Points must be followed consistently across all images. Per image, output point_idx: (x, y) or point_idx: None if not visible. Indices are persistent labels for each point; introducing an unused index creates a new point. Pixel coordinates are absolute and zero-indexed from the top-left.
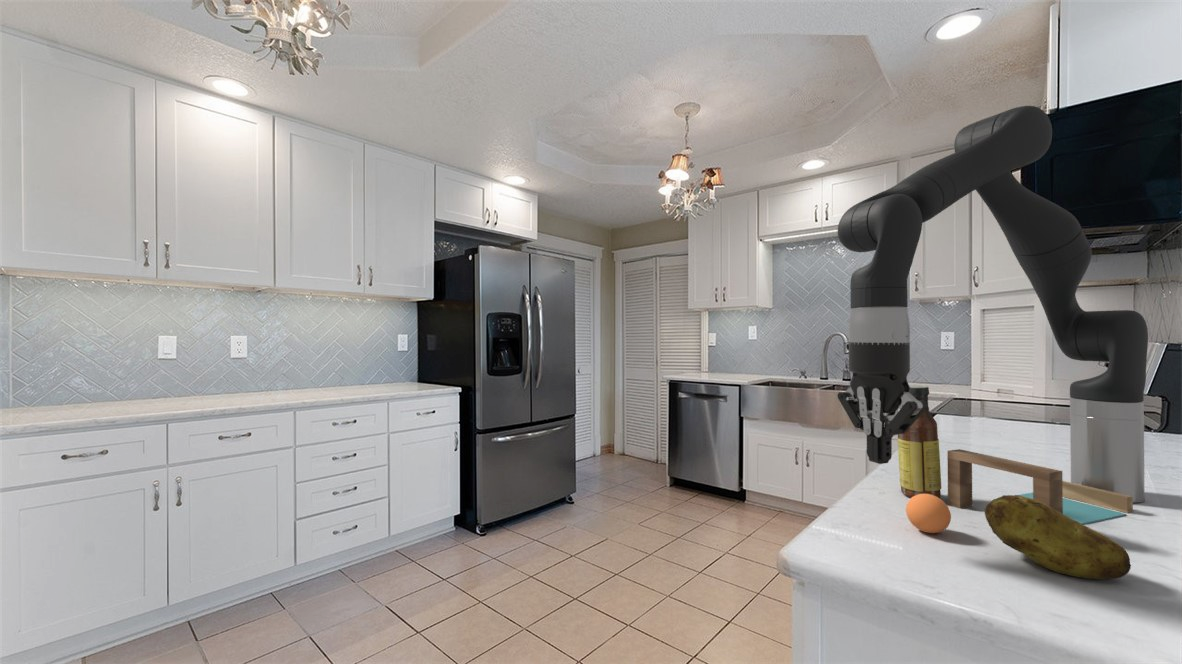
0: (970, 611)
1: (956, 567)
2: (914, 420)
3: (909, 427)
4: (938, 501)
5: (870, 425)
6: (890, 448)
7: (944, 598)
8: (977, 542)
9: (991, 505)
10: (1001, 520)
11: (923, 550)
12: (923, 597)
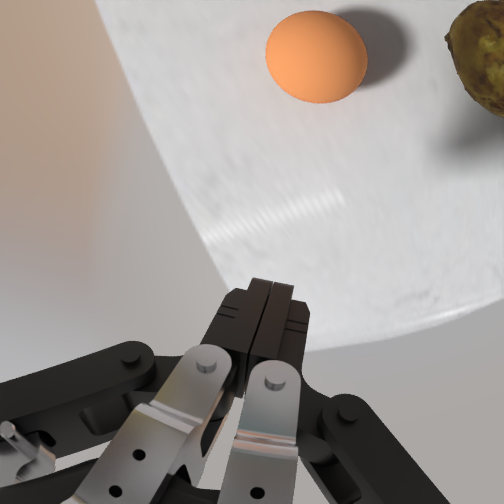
0: (466, 311)
1: (431, 198)
2: (422, 481)
3: (392, 437)
4: (348, 54)
5: (216, 437)
6: (304, 340)
7: (443, 307)
8: (398, 37)
9: (489, 83)
10: (502, 113)
11: (369, 171)
12: (425, 323)
